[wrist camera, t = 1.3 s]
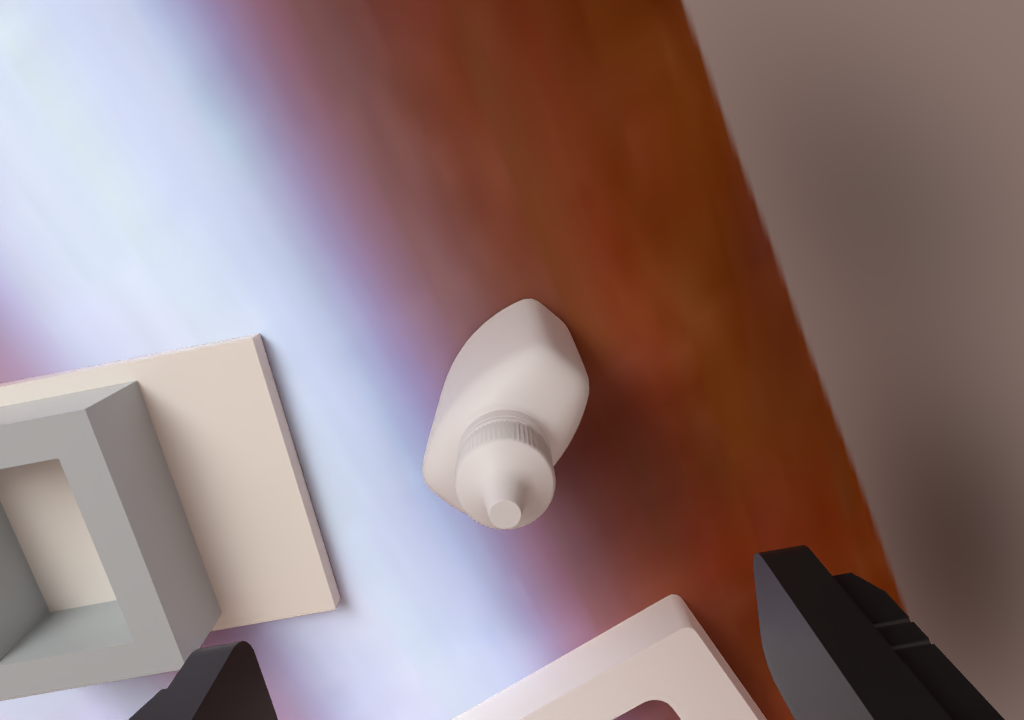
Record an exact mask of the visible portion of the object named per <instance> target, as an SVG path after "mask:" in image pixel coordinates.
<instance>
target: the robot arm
mask: <svg viewBox="0 0 1024 720" xmlns="http://www.w3.org/2000/svg"><path fill="white" fill-rule="evenodd" d="M753 569H754V578H755V588H756V597H757V606H758V615H759V625H760V634H761V641H762V646H763V651H764V654H765V658H766V661H767V664H768V667H769V670H770V673H771V675H772V678H773V680H774V682H775V684H776V686H777V688H778V689H779V691H780V693H781V695H782V697H783V699H784V701H785V702H786V704H787V706H788V708H789V710H790V712H791V713H792V715H793V717H794V719H795V720H1004V718H1002V716H1001V715H1000V714H999V713H998V712H997V711H996V710H995V709H994V708H993V707H992V706H991V704H989V703H988V701H987V700H986V699H985V698H984V697H983V696H982V695H981V694H980V693H979V692H978V691H977V690H976V688H975V687H974V686H973V685H972V684H971V683H970V682H969V681H968V680H967V679H966V678H965V677H964V676H963V675H962V673H961V672H960V671H959V670H958V669H957V668H956V667H955V666H954V665H953V664H952V663H951V662H950V661H949V659H947V657H946V656H945V655H944V654H943V653H942V652H941V651H940V650H939V649H938V648H937V647H936V646H935V644H932V645H931V643H930V641H929V638H928V637H927V636H926V635H925V634H924V633H923V632H922V631H921V629H920V628H919V627H918V626H917V625H916V624H915V623H914V622H910V620H909V617H908V616H907V614H906V613H905V612H904V611H903V610H902V609H901V608H900V607H899V606H898V605H897V604H896V603H895V602H894V601H893V599H892V598H891V597H890V596H889V595H888V594H887V593H886V592H885V591H883V590H881V589H880V588H878V587H876V586H874V585H872V584H871V583H869V582H867V581H865V580H863V579H862V578H860V577H858V576H856V575H854V574H853V573H847V574H841V575H835V576H832V575H831V574H830V573H829V572H828V570H827V569H826V568H825V567H824V566H823V564H822V563H821V562H820V561H819V560H818V558H817V557H816V556H815V555H814V554H813V552H812V551H811V550H810V549H809V548H808V547H807V546H804V545H801V546H796V547H790V548H784V549H778V550H773V551H767V552H761V553H756V554H755V555H754V558H753ZM129 720H278V719H277V715H276V713H275V710H274V707H273V704H272V701H271V698H270V695H269V692H268V690H267V687H266V684H265V681H264V678H263V675H262V672H261V669H260V667H259V664H258V661H257V658H256V655H255V653H254V650H253V648H252V647H251V645H250V644H249V643H247V642H245V641H241V642H235V643H230V644H224V645H218V646H213V647H207V648H201V649H197V650H195V651H193V652H192V653H191V654H190V656H189V657H188V658H187V660H186V661H185V663H184V664H183V666H182V667H181V669H180V670H179V672H178V673H177V675H176V676H175V678H174V679H173V681H172V682H171V684H170V685H169V687H168V688H167V689H162V690H160V691H159V692H158V693H157V694H156V695H155V696H154V697H153V698H152V699H151V700H150V701H148V702H147V703H146V704H145V705H144V706H143V707H142V708H141V709H140V710H139V711H137V712H136V713H135V714H134V715H133V716H132V717H131V718H130V719H129Z"/></svg>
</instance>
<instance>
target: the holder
mask: <svg viewBox="0 0 1024 720" xmlns="http://www.w3.org/2000/svg"><path fill="white" fill-rule="evenodd" d="M649 700H661V701H664V702H666V703H668V704H669V705H670V706H671V707H672V708H673V709H674V711H675V712H676V713H677V715H678V716H679V717H680V719H681V720H767V719H766V718H765V716H764V715H763V713H762V712H761V710H760V709H759V708H758V706H757V705H756V703H755V702H754V700H753V699H752V698H751V696H750V695H749V693H748V692H747V691H746V689H745V688H744V686H743V685H742V683H741V682H740V681H739V679H738V678H737V676H736V675H735V673H734V672H733V671H732V669H731V668H730V666H729V665H728V663H727V662H726V661H725V659H724V658H723V656H722V655H721V654H720V652H719V651H718V649H717V648H716V646H715V645H714V644H713V642H712V641H711V639H710V638H709V636H708V635H707V634H706V632H705V631H704V629H703V628H702V626H701V625H700V624H699V622H698V621H697V619H696V618H695V616H694V615H693V614H692V612H691V611H690V609H689V608H688V607H687V605H686V604H685V602H684V601H683V599H682V598H681V597H680V596H678V595H669V596H667V597H665V598H664V599H662V600H660V601H658V602H657V603H655V604H653V605H651V606H650V607H648V608H646V609H644V610H643V611H641V612H639V613H637V614H636V615H634V616H632V617H630V618H629V619H627V620H625V621H623V622H622V623H620V624H618V625H616V626H615V627H613V628H611V629H609V630H608V631H606V632H604V633H602V634H601V635H599V636H597V637H595V638H594V639H592V640H590V641H588V642H587V643H585V644H583V645H581V646H580V647H578V648H576V649H574V650H573V651H571V652H569V653H567V654H566V655H564V656H562V657H560V658H559V659H557V660H555V661H553V662H552V663H550V664H548V665H546V666H545V667H543V668H541V669H539V670H538V671H536V672H534V673H532V674H531V675H529V676H527V677H525V678H524V679H522V680H520V681H518V682H517V683H515V684H513V685H511V686H510V687H508V688H506V689H504V690H503V691H501V692H499V693H497V694H496V695H494V696H492V697H490V698H489V699H487V700H485V701H483V702H482V703H480V704H478V705H476V706H475V707H473V708H471V709H469V710H468V711H466V712H464V713H462V714H461V715H459V716H457V717H455V718H454V719H452V720H613V719H614V718H616V717H618V716H620V715H622V714H624V713H625V712H627V711H629V710H631V709H633V708H635V707H636V706H638V705H640V704H642V703H644V702H646V701H649Z"/></svg>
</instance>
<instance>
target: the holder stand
mask: <svg viewBox="0 0 1024 720" xmlns="http://www.w3.org/2000/svg"><path fill="white" fill-rule="evenodd" d="M339 600H340V595H339V591H338V588H337V585H336V581H335V578H334V575H333V572H332V568H331V565H330V562H329V558H328V555H327V552H326V549H325V545H324V542H323V539H322V536H321V532H320V529H319V526H318V522H317V519H316V516H315V513H314V509H313V506H312V503H311V499H310V496H309V493H308V490H307V486H306V483H305V480H304V477H303V473H302V470H301V467H300V463H299V460H298V457H297V454H296V450H295V447H294V444H293V440H292V437H291V434H290V431H289V427H288V424H287V421H286V417H285V414H284V411H283V408H282V404H281V401H280V398H279V395H278V391H277V388H276V385H275V381H274V378H273V375H272V372H271V368H270V365H269V362H268V358H267V355H266V352H265V349H264V345H263V342H262V339H261V336H260V333H258V334H253V335H248V336H243V337H238V338H233V339H227V340H222V341H217V342H212V343H207V344H202V345H197V346H191V347H186V348H181V349H176V350H171V351H166V352H160V353H155V354H150V355H145V356H140V357H135V358H129V359H124V360H119V361H114V362H109V363H104V364H98V365H93V366H88V367H83V368H78V369H73V370H67V371H62V372H57V373H52V374H47V375H42V376H37V377H31V378H26V379H21V380H16V381H11V382H6V383H0V701H3V700H9V699H15V698H21V697H26V696H32V695H38V694H44V693H49V692H55V691H61V690H67V689H72V688H78V687H84V686H90V685H95V684H101V683H107V682H112V681H118V680H124V679H130V678H135V677H141V676H147V675H153V674H158V673H164V672H170V671H176V670H180V669H181V667H182V666H183V664H184V663H185V661H186V660H187V658H188V657H189V656H190V654H191V653H192V652H193V651H195V650H197V649H199V648H200V647H201V645H202V644H203V642H204V641H205V639H206V638H207V636H208V634H209V633H210V632H211V631H217V630H222V629H228V628H234V627H239V626H245V625H251V624H256V623H262V622H268V621H273V620H279V619H285V618H290V617H296V616H302V615H307V614H313V613H319V612H324V611H330V610H336V608H337V605H338V603H339Z"/></svg>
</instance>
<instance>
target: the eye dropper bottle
mask: <svg viewBox="0 0 1024 720" xmlns="http://www.w3.org/2000/svg"><path fill="white" fill-rule="evenodd" d="M588 396H589V379H588V376H587V373H586V370H585V367H584V365H583V362H582V360H581V357H580V355H579V352H578V350H577V348H576V345H575V343H574V341H573V338H572V336H571V334H570V332H569V330H568V328H567V327H566V325H565V323H564V322H562V321H561V320H560V319H559V318H558V317H557V316H556V315H554V314H553V313H552V312H551V311H550V310H549V309H547V308H546V307H545V306H544V305H542V304H541V303H540V302H538V301H536V300H534V299H523V300H521V301H518V302H516V303H514V304H512V305H510V306H508V307H507V308H505V309H503V310H502V311H500V312H499V313H497V314H496V315H494V316H493V317H492V318H490V319H489V320H488V321H486V322H485V323H484V324H483V325H482V326H481V327H480V328H479V329H478V330H477V331H476V332H475V333H474V334H473V335H472V336H471V337H470V338H469V340H468V341H467V342H466V343H465V345H464V346H463V348H462V349H461V351H460V352H459V354H458V355H457V357H456V359H455V361H454V362H453V364H452V366H451V368H450V371H449V373H448V375H447V378H446V380H445V383H444V387H443V390H442V393H441V397H440V400H439V404H438V407H437V411H436V414H435V418H434V421H433V425H432V428H431V432H430V436H429V439H428V443H427V447H426V452H425V456H424V461H423V478H424V481H425V483H426V484H427V485H428V487H429V488H430V489H431V490H432V491H433V492H434V493H435V494H436V495H438V496H439V497H440V498H441V499H443V500H444V501H445V502H447V503H448V504H450V505H451V506H452V507H454V508H456V509H457V510H459V511H460V512H463V513H466V514H468V515H470V518H473V519H474V521H477V522H478V523H480V524H482V525H483V526H487V527H491V528H492V529H494V528H496V529H497V530H498V529H502V530H504V529H507V530H509V529H515V528H519V527H524V525H528V524H529V523H532V522H533V521H534V520H537V518H538V517H541V514H543V513H544V511H545V510H547V507H548V506H549V505H550V502H551V501H552V497H553V496H554V492H555V487H556V484H555V482H556V479H555V471H554V465H555V464H556V463H557V461H558V460H559V459H560V457H561V456H562V455H563V453H564V452H565V450H566V448H567V447H568V445H569V444H570V442H571V440H572V438H573V436H574V434H575V432H576V430H577V428H578V426H579V423H580V421H581V418H582V416H583V413H584V410H585V407H586V404H587V400H588Z"/></svg>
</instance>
